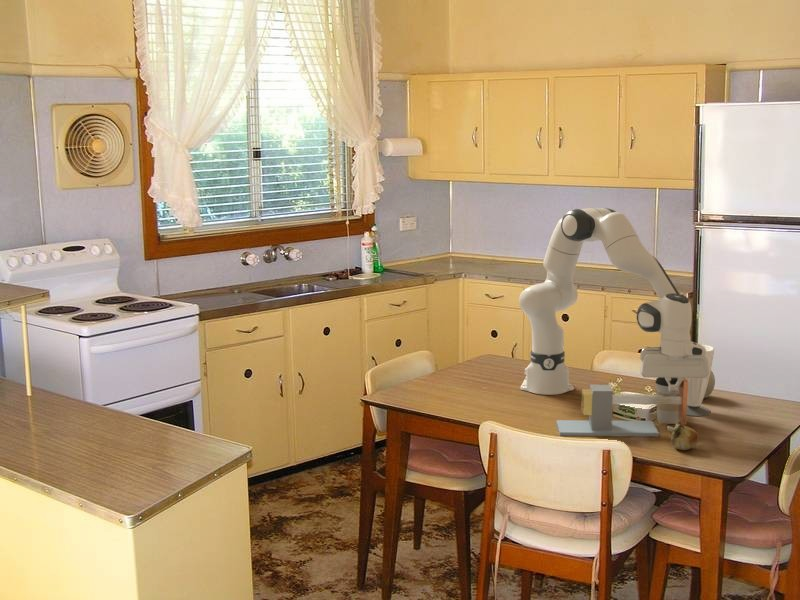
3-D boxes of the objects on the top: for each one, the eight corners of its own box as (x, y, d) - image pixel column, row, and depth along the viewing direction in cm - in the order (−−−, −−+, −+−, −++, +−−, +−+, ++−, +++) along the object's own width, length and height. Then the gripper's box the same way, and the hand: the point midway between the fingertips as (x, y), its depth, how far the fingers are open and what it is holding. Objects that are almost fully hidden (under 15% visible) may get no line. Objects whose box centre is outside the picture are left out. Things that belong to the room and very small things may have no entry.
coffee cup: (648, 420, 314) (650, 375, 311) (663, 414, 320) (665, 369, 317) (673, 426, 308) (675, 380, 305) (688, 420, 314) (690, 374, 311)
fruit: (682, 401, 333) (683, 359, 331) (682, 392, 344) (684, 351, 341) (714, 404, 330) (716, 361, 328) (714, 394, 341) (716, 353, 338)
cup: (687, 418, 316) (690, 353, 312) (668, 407, 327) (671, 345, 323) (718, 414, 319) (721, 350, 315) (698, 404, 330) (701, 342, 326)
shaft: (587, 417, 308) (588, 375, 306) (681, 418, 306) (683, 376, 304) (589, 423, 302) (591, 381, 300) (686, 424, 300) (688, 381, 298)
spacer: (581, 409, 308) (582, 389, 307) (589, 409, 308) (590, 389, 307) (583, 414, 302) (584, 394, 301) (591, 414, 302) (592, 394, 301)
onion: (686, 455, 282) (687, 428, 281) (664, 448, 289) (665, 422, 287) (702, 449, 287) (704, 423, 285) (680, 442, 293) (681, 417, 291)
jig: (556, 423, 312) (557, 382, 310) (651, 424, 310) (653, 382, 308) (559, 435, 301) (560, 393, 298) (659, 436, 299) (660, 393, 296)
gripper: (642, 349, 297) (640, 393, 299) (711, 349, 295) (709, 394, 298) (638, 344, 303) (637, 387, 305) (706, 345, 301) (704, 388, 304)
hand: (673, 390), depth 302 cm, fingers closed
